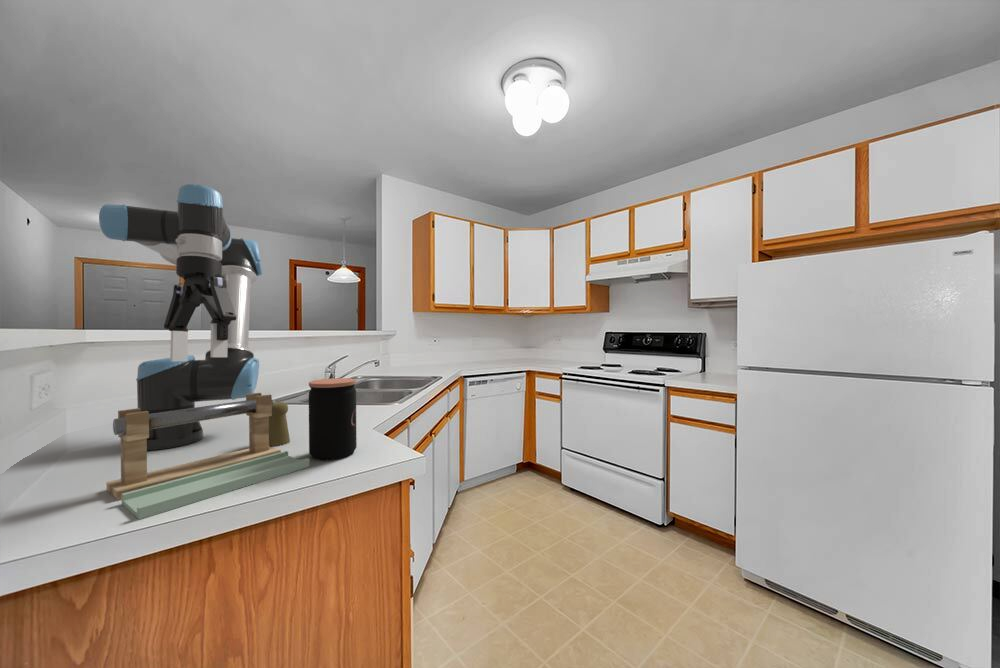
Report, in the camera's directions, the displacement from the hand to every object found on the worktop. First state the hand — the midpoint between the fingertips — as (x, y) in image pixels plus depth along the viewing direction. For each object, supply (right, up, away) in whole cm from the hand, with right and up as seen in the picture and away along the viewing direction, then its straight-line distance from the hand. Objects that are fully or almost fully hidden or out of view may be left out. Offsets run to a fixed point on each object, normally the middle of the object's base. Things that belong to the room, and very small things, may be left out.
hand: (198, 359), depth 78 cm
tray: (+8, -24, -3) cm, 26 cm away
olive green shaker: (+2, -24, +24) cm, 34 cm away
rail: (-2, -12, +3) cm, 12 cm away
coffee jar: (+22, -24, +15) cm, 36 cm away
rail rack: (-1, -24, +3) cm, 25 cm away
